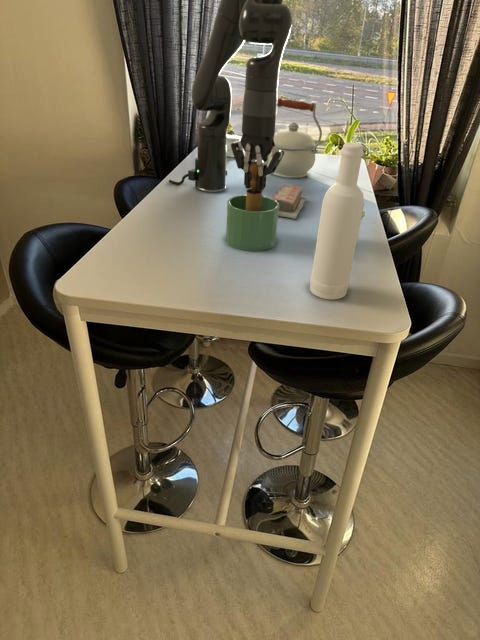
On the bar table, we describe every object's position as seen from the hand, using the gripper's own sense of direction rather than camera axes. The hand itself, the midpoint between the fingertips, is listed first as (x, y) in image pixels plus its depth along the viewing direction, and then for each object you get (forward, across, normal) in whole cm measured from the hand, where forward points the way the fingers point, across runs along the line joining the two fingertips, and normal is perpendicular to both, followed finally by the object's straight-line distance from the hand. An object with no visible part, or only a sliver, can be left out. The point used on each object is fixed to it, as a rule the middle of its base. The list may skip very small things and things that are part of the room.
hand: (254, 188), depth 111 cm
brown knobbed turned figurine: (+12, 0, 0) cm, 12 cm away
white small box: (+13, +52, -70) cm, 88 cm away
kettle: (+14, +24, -63) cm, 69 cm away
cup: (+14, 0, 0) cm, 14 cm away
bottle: (+14, -27, +12) cm, 33 cm away
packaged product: (+14, +5, -28) cm, 31 cm away
